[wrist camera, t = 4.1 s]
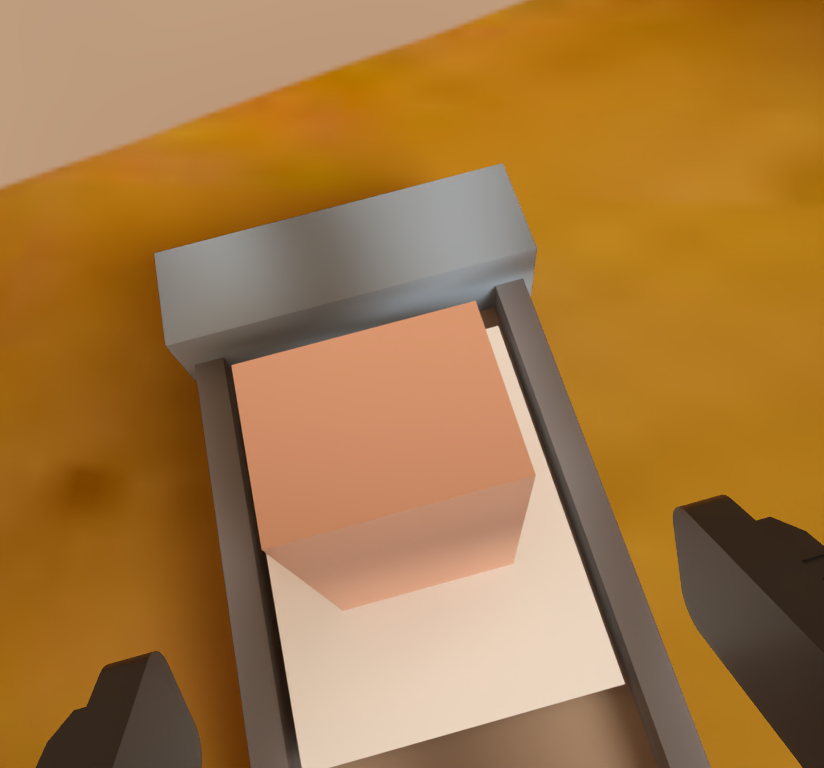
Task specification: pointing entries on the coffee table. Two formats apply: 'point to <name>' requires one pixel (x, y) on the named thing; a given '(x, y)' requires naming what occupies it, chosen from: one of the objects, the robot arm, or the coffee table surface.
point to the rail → (545, 399)
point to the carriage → (413, 538)
